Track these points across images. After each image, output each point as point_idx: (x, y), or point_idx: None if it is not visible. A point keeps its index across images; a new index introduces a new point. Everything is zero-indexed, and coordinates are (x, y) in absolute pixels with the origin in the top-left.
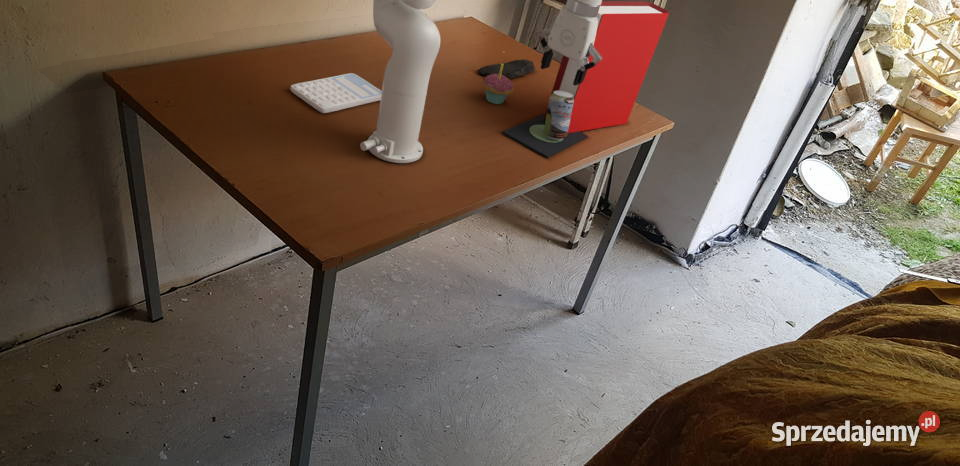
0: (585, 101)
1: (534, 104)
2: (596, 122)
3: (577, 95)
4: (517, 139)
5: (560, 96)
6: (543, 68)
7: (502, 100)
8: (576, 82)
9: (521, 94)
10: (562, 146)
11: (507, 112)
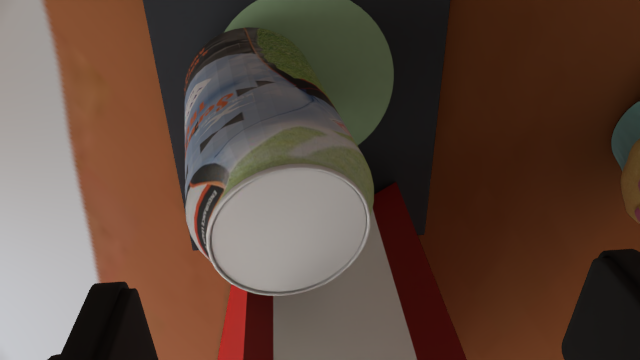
0: (231, 352)
1: (498, 260)
2: (223, 339)
3: (243, 328)
4: None
5: (262, 169)
6: (597, 262)
7: (622, 136)
8: (85, 321)
9: (576, 275)
10: (167, 50)
11: (554, 91)
